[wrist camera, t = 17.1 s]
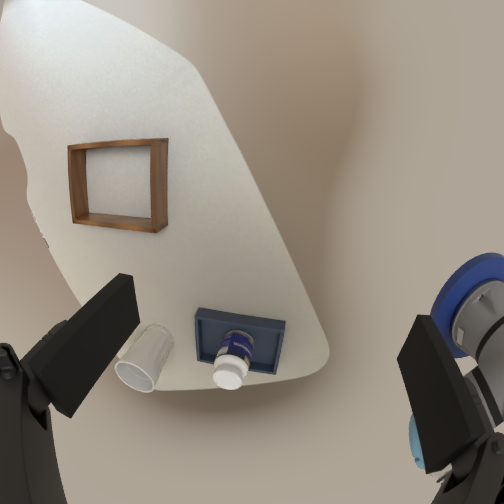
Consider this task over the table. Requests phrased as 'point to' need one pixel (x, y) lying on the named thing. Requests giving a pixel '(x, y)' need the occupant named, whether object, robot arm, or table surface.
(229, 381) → the pill bottle
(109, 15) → the table surface
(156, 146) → the wooden frame
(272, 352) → the tray
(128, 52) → the table surface
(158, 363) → the cup
